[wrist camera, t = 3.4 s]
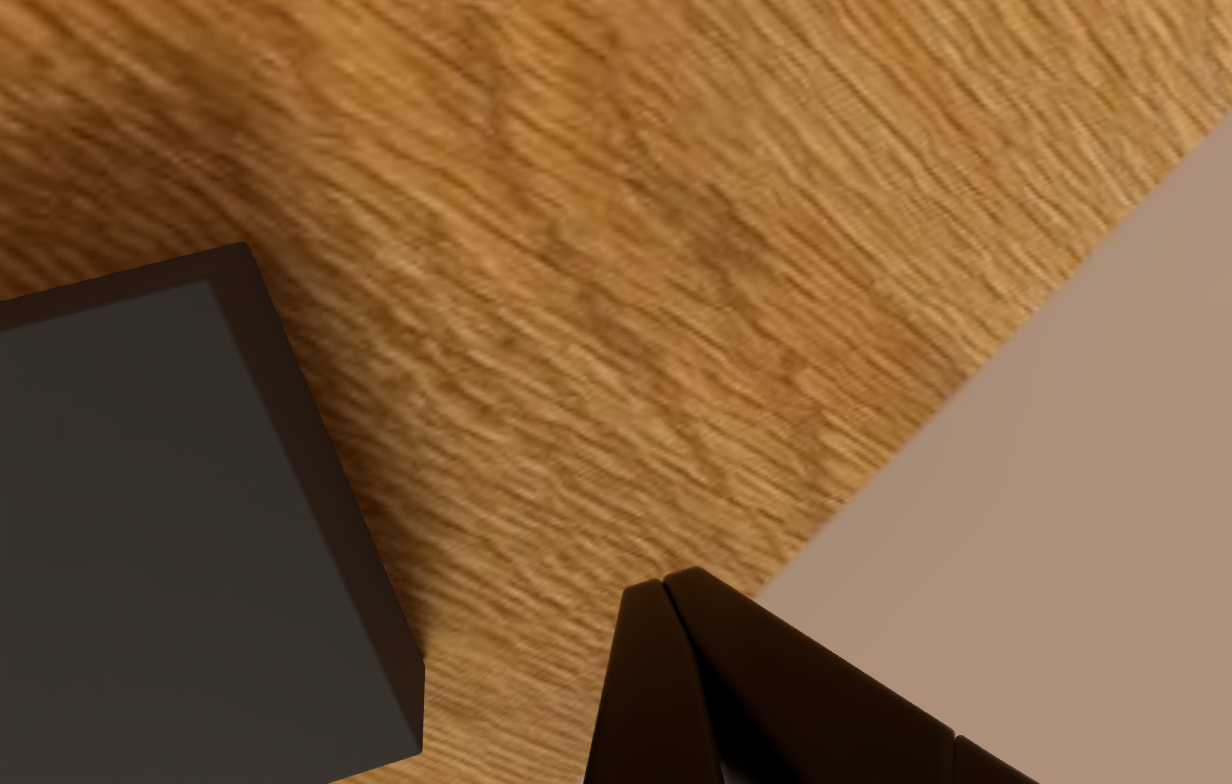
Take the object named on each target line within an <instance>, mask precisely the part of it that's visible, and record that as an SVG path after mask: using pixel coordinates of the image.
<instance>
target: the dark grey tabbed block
mask: <svg viewBox="0 0 1232 784" xmlns="http://www.w3.org/2000/svg"><path fill="white" fill-rule="evenodd" d="M424 686H425V664H424V662H423V660H422V657H421V655H420V653H419V650H418V648H417V645H416V643H415V641H414V638H413V636H412V634H411V631H410V629H409V626H408V624H407V622H406V619H405V617H404V614H403V612H402V610H401V607H400V605H399V603H398V600H397V598H396V595H395V593H394V591H393V588H392V586H391V584H390V581H389V579H388V576H387V574H386V572H385V569H384V567H383V565H382V562H381V560H380V557H379V555H378V553H377V550H376V548H375V546H374V543H373V541H372V538H371V536H370V534H369V531H368V529H367V527H366V524H365V522H364V519H363V517H362V515H361V512H360V510H359V508H358V505H357V503H356V500H355V498H354V496H353V493H352V491H351V489H350V486H349V484H348V481H347V479H346V477H345V474H344V472H343V470H342V467H341V465H340V462H339V460H338V458H337V455H336V453H335V451H334V448H333V446H332V443H331V441H330V439H329V436H328V434H327V432H326V429H325V427H324V424H323V422H322V420H321V417H320V415H319V413H318V410H317V408H316V405H315V403H314V401H313V398H312V396H311V393H310V391H309V389H308V386H307V384H306V382H305V379H304V377H303V374H302V372H301V370H300V367H299V365H298V363H297V360H296V358H295V355H294V353H293V351H292V348H291V346H290V344H289V341H288V339H287V336H286V334H285V332H284V329H283V327H282V325H281V322H280V320H279V317H278V315H277V313H276V310H275V308H274V306H273V303H272V301H271V298H270V296H269V294H268V291H267V289H266V287H265V284H264V282H263V279H262V277H261V275H260V272H259V270H258V268H257V265H256V263H255V260H254V258H253V256H252V253H251V251H250V249H249V246H248V245H247V244H246V242H238V243H234V244H230V245H226V246H222V247H218V248H214V249H210V250H206V251H202V252H198V253H194V254H190V255H186V256H182V257H178V258H174V259H170V260H166V261H162V262H158V263H154V264H150V265H146V266H142V267H138V268H134V269H130V270H126V271H122V272H118V273H114V274H110V275H106V276H102V277H98V278H94V279H90V280H86V281H82V282H78V283H74V284H70V285H66V286H62V287H58V288H54V289H50V290H46V291H42V292H38V293H34V294H30V295H26V296H22V297H18V298H14V299H10V300H6V301H2V302H0V784H328V783H331V782H334V781H337V780H340V779H344V778H347V777H350V776H353V775H356V774H359V773H362V772H365V771H369V770H372V769H375V768H378V767H381V766H384V765H387V764H390V763H394V762H397V761H400V760H403V759H406V758H409V757H412V756H415V755H419V754H420V753H421V752H422V748H423V717H424Z"/></svg>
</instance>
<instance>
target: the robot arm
mask: <svg viewBox="0 0 1232 784" xmlns="http://www.w3.org/2000/svg"><path fill="white" fill-rule="evenodd" d="M725 783H726V784H1039V783H1038V782H1036V781H1034V780H1033V779H1031V778H1029V777H1028V776H1026V775H1025V774H1023V773H1021V772H1020V771H1018V770H1016V769H1015V768H1013V767H1011V766H1010V765H1008V764H1007V763H1005V762H1003V761H1002V760H1000V759H998V758H997V757H995V756H994V755H992V754H990V753H989V752H988V751H986V750H984V749H982V748H981V747H980V746H978V745H977V744H975V743H973V742H972V741H970V740H969V739H967V738H966V737H964V736H962V735H959V736H957V737H956V738H955V733H954V731H953V730H952V729H951V728H950V727H948V726H946V725H945V724H943V723H942V722H940V721H939V720H937V719H936V718H934V717H932V716H931V715H929V714H928V713H926V712H924V711H923V710H922V709H920V708H919V707H917V706H915V705H914V704H912V703H911V702H909V701H908V700H906V699H905V698H903V697H901V696H900V695H898V694H897V693H895V692H894V691H892V690H891V689H889V688H887V687H886V686H884V685H883V684H881V683H879V682H878V681H877V680H875V679H874V678H872V677H870V676H869V675H867V674H866V673H864V672H863V671H861V670H860V669H858V668H856V667H855V666H853V665H852V664H850V663H849V662H847V661H846V660H844V659H842V658H841V657H839V656H838V655H836V654H835V653H833V652H832V651H830V650H828V649H827V648H825V647H824V646H822V645H821V644H819V643H817V642H816V641H814V640H813V639H811V638H810V637H808V636H807V635H805V634H804V633H802V632H800V631H799V630H797V629H796V628H794V627H793V626H791V625H789V624H788V623H786V622H785V621H783V620H782V619H780V618H779V617H777V616H776V615H774V614H772V613H771V612H769V611H768V610H766V609H765V608H763V607H761V606H760V605H758V604H757V603H755V602H754V601H752V600H751V599H749V598H748V597H746V596H745V595H743V594H741V593H740V592H738V591H737V590H735V589H734V588H732V587H731V586H729V585H727V584H726V583H724V582H723V581H721V580H720V579H718V578H717V577H715V576H713V575H712V574H710V573H709V572H707V571H706V570H704V569H703V568H701V567H697V566H694V567H690V568H687V569H683V570H680V571H677V572H674V573H670V574H667V575H666V576H665V577H664V578H663V582H662V581H661V580H659V579H656V578H655V579H651V580H648V581H644V582H641V583H638V584H634V585H631V586H628V587H626V588H625V589H624V591H623V594H622V598H621V603H620V608H619V613H618V617H617V622H616V627H615V632H614V637H613V642H612V646H611V651H610V656H609V661H608V666H607V671H606V675H605V680H604V685H603V690H602V695H601V700H600V704H599V709H598V714H597V719H596V724H595V729H594V733H593V738H592V743H591V748H590V753H589V758H588V763H587V767H586V772H585V777H584V782H583V784H725Z"/></svg>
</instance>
